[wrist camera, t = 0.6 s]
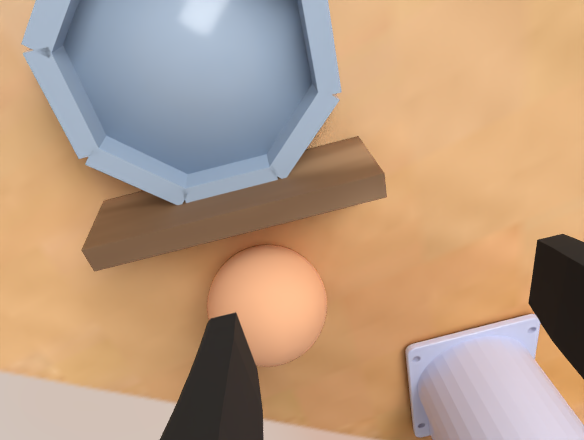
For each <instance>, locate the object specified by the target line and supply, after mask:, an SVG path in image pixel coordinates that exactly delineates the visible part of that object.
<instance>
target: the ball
mask: <svg viewBox="0 0 584 440" xmlns="http://www.w3.org/2000/svg"><path fill="white" fill-rule="evenodd" d="M235 312H236V313H237V316H238V318H239V321H240V324H241V327H242V329H243V332H244V335H245V337H246V340H247V343H248V345H249V348H250V351H251V353H252V356H253V359H254V362H255V364H256V366H263V367H272V366H278V365H282V364H286V363H288V362H291V361H293V360H295V359H297V358H298V357H300V356H301V355H303V354H304V353H305V352H306V351H307V350H308V349H309V348H310V347H311V346H312V345H313V344H314V343H315V341H316V340H317V338H318V337H319V335H320V333H321V331H322V328H323V326H324V323H325V319H326V313H327V297H326V291H325V288H324V284H323V282H322V279H321V277H320V276H319V274H318V272H317V271H316V269H315V268H314V267H313V265H312V264H311V263H310V262H309V261H308V260H307V259H306V258H304V257H303V256H302V255H300V254H299V253H297V252H295V251H293V250H291V249H288V248H286V247H282V246H276V245H258V246H253V247H250V248H247V249H245V250H243V251H240V252H239V253H237V254H235V255H234V256H232V257H231V258H230V259H229V260H228V261H227V262H226V263H224V264H223V265H222V267H221V268H220V269H219V271H218V272H217V274H216V276H215V277H214V279H213V281H212V284H211V287H210V290H209V294H208V300H207V313H208V319H209V320H210V319H211V318H214V317H218V316H223V315H227V314H231V313H235Z"/></svg>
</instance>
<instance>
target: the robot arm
mask: <svg viewBox="0 0 584 440" xmlns="http://www.w3.org/2000/svg"><path fill="white" fill-rule="evenodd" d="M529 305H530V306H531V308H532V310H533V311H534V313H535V314H528V315H524V316H520V317H516V318H512V319H508V320H504V321H500V322H496V323H493V324H489V325H485V326H481V327H477V328H473V329H469V330H465V331H461V332H457V333H453V334H449V335H445V336H441V337H437V338H433V339H429V340H425V341H422V342H418V343H414V344H411V345H409V346H408V347H407V348H406V351H405V352H406V362H407V372H408V382H409V392H410V402H411V412H412V422H413V431H414V433H415V436H416V437H425V436H429V435H431V437H432V440H584V425H583V424H582V422H581V421H580V420H579V418H578V417H577V416H576V414H575V413H574V412H573V410H572V409H571V408H570V406H569V405H568V404H567V402H566V401H565V400H564V398H563V397H562V396H561V394H560V393H559V392H558V390H557V389H556V387H555V386H554V385H553V383H552V382H551V381H550V379H549V378H548V377H547V375H546V374H545V373H544V371H543V370H542V369H541V367H540V366H539V365H538V363H537V362H536V361H535V354H536V348H537V341H538V335H539V328H540V323H541V324H542V326H543V327H544V329H545V330H546V332H547V333H548V335H549V336H550V338H551V340H552V341H553V342H554V343H555V345H556V346H557V347H558V348H559V350H560V351H561V352H562V353H563V355H564V356H565V357H566V358H567V360H568V361H569V362H570V363H571V364H572V366H573V367H574V368H575V369H576V370H577V372H578V373H579V374H580V375H581V376H582V378H583V379H584V242H582V241H579V240H577V239H575V238H572V237H570V236H567V235H565V234H560V235H556V236H552V237H548V238H544V239H539V240H537V247H536V254H535V261H534V268H533V275H532V282H531V289H530V297H529ZM160 440H263V410H262V402H261V394H260V386H259V379H258V372H257V367H256V364H255V362H254V359H253V356H252V353H251V351H250V348H249V345H248V343H247V340H246V337H245V335H244V332H243V329H242V327H241V324H240V321H239V318H238V316H237V313H236V312H235V313H231V314H227V315H223V316H218V317H214V318H211V319H210V320H209V321H208V323H207V326H206V329H205V332H204V335H203V338H202V341H201V344H200V347H199V349H198V352H197V355H196V358H195V360H194V363H193V365H192V368H191V371H190V373H189V376H188V378H187V380H186V383H185V385H184V388H183V390H182V392H181V395H180V397H179V399H178V402H177V404H176V406H175V409H174V411H173V413H172V415H171V417H170V420H169V421H168V423H167V426H166V428H165V430H164V432H163V434H162V436H161V438H160Z"/></svg>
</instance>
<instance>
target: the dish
mask: <svg viewBox="0 0 584 440" xmlns="http://www.w3.org/2000/svg"><path fill="white" fill-rule="evenodd" d="M22 44H23V45H24V46H26V47H28V48H30V49H29V50H27V51H26V52H24V53H23V55H24V57H25V59H26V61H27V63H28V64H29V66H30V68H31V70H32V72H33V74H34V76H35V78H36V79H37V81H38V83H39V85H40V87H41V89H42V91H43V93H44V94H45V96H46V98H47V100H48V102H49V104H50V106H51V108H52V110H53V111H54V113H55V115H56V117H57V119H58V121H59V123H60V125H61V126H62V128H63V130H64V132H65V134H66V136H67V138H68V140H69V141H70V143H71V145H72V147H73V149H74V151H75V153H76V155H77V156H78V158H79V159H81V158H85V157H88V159H87V161H86V164H85V165H87V166H89V167H92V168H94V169H96V170H99V171H101V172H103V173H105V174H108V175H110V176H112V177H114V178H117V179H119V180H121V181H123V182H126V183H128V184H130V185H132V186H135V187H137V188H139V189H142V190H144V191H146V192H148V193H151V194H153V195H155V196H157V197H160V198H162V199H164V200H166V201H169V202H171V203H173V204H175V205H181V204H183V202H184V200H185V201H186V203H189V202H192V201H196V200H200V199H204V198H208V197H212V196H216V195H220V194H224V193H228V192H232V191H236V190H240V189H244V188H248V187H252V186H255V185H259V184H263V183H267V182H271V181H275V180H278V178H277V177H279V178H281V179H283V178H287V176H288V175H289V173H290V172H291V170H292V169H293V168H294V166H295V165H296V163H297V162H298V160H299V159H300V157H301V156H302V154H303V153H304V151H305V150H306V148H307V147H308V146H309V144H310V143H311V141H312V140H313V138H314V137H315V135H316V134H317V132H318V131H319V129H320V128H321V126H322V125H323V124H324V122H325V121H326V119H327V118H328V116H329V115H330V113H331V112H332V110H333V109H334V107H335V106H336V104H337V103H338V102H339V98H338V97H337V96H336V93H340V92H341V86H340V79H339V72H338V66H337V59H336V52H335V45H334V39H333V32H332V25H331V19H330V12H329V5H328V0H36V2H35V5H34V8H33V11H32V14H31V17H30V20H29V23H28V26H27V29H26V32H25V35H24V38H23V41H22Z"/></svg>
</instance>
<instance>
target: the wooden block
mask: <svg viewBox="0 0 584 440" xmlns="http://www.w3.org/2000/svg"><path fill="white" fill-rule="evenodd" d="M277 178H278V180H275V181H271V182H267V183H263V184H259V185H255V186H252V187H248V188H244V189H240V190H236V191H232V192H228V193H224V194H220V195H216V196H212V197H208V198H204V199H200V200H196V201H192V202H189V203H186V201H185V200H184V202H183V204H181V205H175V204H173V203H171V202H169V201H166V200H164V199H162V198H160V197H157V196H155V195H153V194H151V193H148V192H146V191H141V192H137V193H133V194H129V195H125V196H121V197H117V198H114V199H110V200H106V201H103V204H102V206H101V208H100V210H99V213H98V215H97V217H96V219H95V221H94V224H93V226H92V228H91V230H90V232H89V235H88V237H87V239H86V241H85V244H84V246H83V248H82V252H83V254H84V255H85V257H86V259H87V260H88V262H89V263H90V265H91V267H92V268H93V270H94V271H98V270H102V269H106V268H110V267H114V266H118V265H122V264H126V263H130V262H134V261H137V260H141V259H145V258H149V257H153V256H157V255H161V254H165V253H169V252H173V251H177V250H181V249H185V248H189V247H193V246H197V245H200V244H204V243H208V242H212V241H216V240H220V239H224V238H228V237H232V236H236V235H240V234H244V233H248V232H252V231H256V230H260V229H263V228H267V227H271V226H275V225H279V224H283V223H287V222H291V221H295V220H299V219H303V218H307V217H311V216H315V215H319V214H323V213H326V212H330V211H334V210H338V209H342V208H346V207H350V206H354V205H358V204H362V203H366V202H370V201H374V200H378V199H382V198H386V197H387V194H386V184H385V175H384V172H383V171H382V169H381V168H380V166H379V165H378V164H377V162H376V161H375V159H374V158H373V156H372V155H371V154H370V152H369V151H368V149H367V148H366V146H365V145H364V144H363V142H362V141H361V139H360V138H359V136H358V137H354V138H350V139H346V140H342V141H338V142H334V143H330V144H326V145H322V146H318V147H314V148H310V149H306V150H305V151H304V153H303V154H302V156H301V157H300V159H299V160H298V162H297V163H296V165H295V166H294V168H293V169H292V170H291V172H290V173H289V175H288V176H287V178H283V179H281V178H279V177H277Z"/></svg>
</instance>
